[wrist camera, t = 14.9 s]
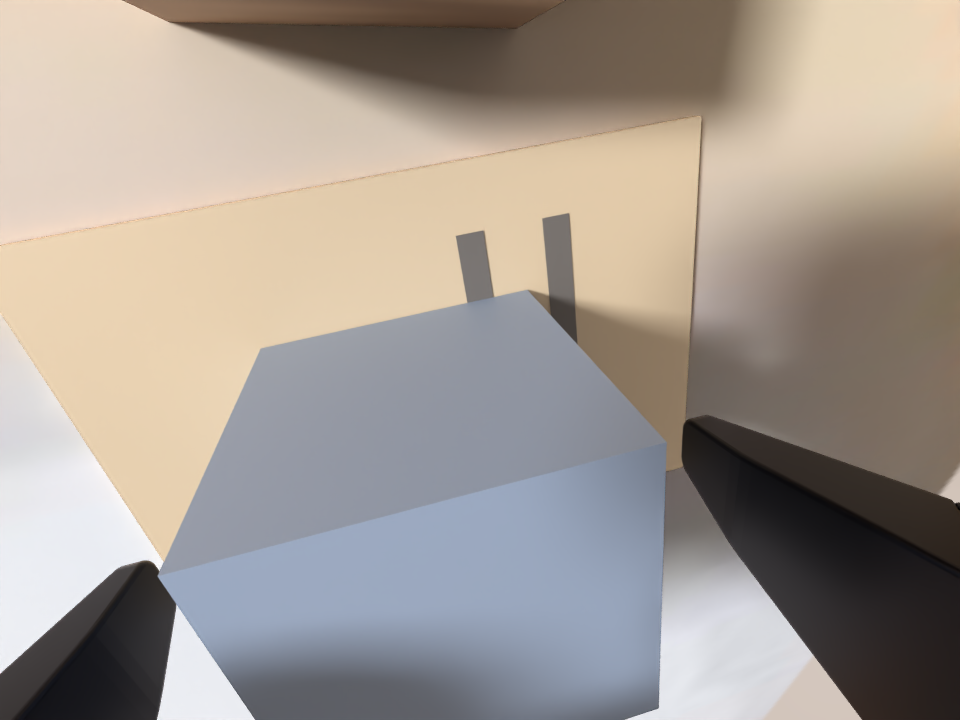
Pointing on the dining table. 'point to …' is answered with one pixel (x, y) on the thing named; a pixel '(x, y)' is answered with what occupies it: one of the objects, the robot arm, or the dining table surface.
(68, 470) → the dining table surface
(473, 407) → the cube
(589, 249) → the letter
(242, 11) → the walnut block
